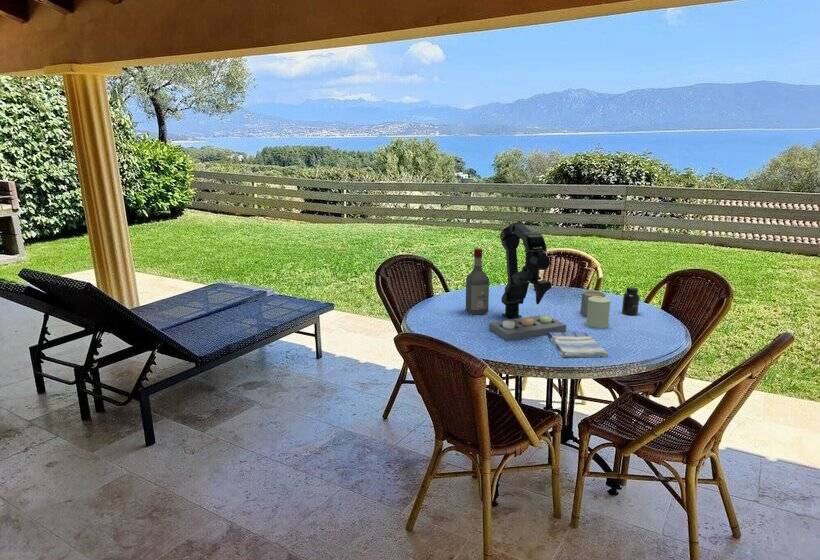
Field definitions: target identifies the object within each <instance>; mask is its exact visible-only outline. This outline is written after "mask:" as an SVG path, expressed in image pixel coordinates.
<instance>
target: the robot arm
mask: <svg viewBox="0 0 820 560" xmlns="http://www.w3.org/2000/svg"><path fill="white" fill-rule="evenodd" d="M499 238H500V241H501V242H500V243H501V245H502V247H503V249H504V250H505V257H506V258H505V259H506V261H505V262H506V271H507V272H506V274H507V284H506V285H505V287H504V293H503V294H502V296H501V299H500V300H501V303H502V304H503V305H504V306H505V307H504V308H505V309H504V311H505V312H504V313H501V314H502V316H503V317H505V318H507V319H508V320H511V319H518V318H522V315H520V314H519V313H520V312H519V311H520V307H519V306H520V305H523V304H524V300H525V299H526V297H527V294H528V290H529V286H530V284H531V285H533V291H534V292H535V303H536V305H540V303H541V301H542V299H543V297H544V296H545V295H546V293H547V291H549V290H552V285H553V284H552V282H551V281H549V280H545V279H543V280H542V276H540V271H545V270H547V269H548V268H549V267H550V265H551V259H550V258H549V256H547V251H548V250H547V249H548V247H547V244H546V242H545V239H544V236H543V234H542V233H540V232H535V231H531V230H530V229H528V228H527V227H526V226H525V225H524V224H523V223H521V222H512V223H509V225H508V226H507V227H505V228H503V229H502V231H500V235H499ZM521 240H522V245H523V247H524V252H525V256H524V257H525V260H524V266H522V268H521V271H519V269H518V268H519V267H518V266H519V265H518V252H517V251H518V250H517V249H518V247H519V245H520V242H521Z"/></svg>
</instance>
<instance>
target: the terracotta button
mask: <svg viewBox="0 0 820 560" xmlns="http://www.w3.org/2000/svg"><path fill="white" fill-rule="evenodd" d="M521 318H522V319H521V325H522V326H524V327H529V326H533V324H534V320H533V319H531V318H525V317H521Z"/></svg>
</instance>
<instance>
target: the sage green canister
mask: <svg viewBox="0 0 820 560" xmlns="http://www.w3.org/2000/svg"><path fill="white" fill-rule="evenodd" d="M611 301H612V300H611V298H609V297H606V296H605V297H601V296H592V297H589V298H588V311H587V317H586V322H585V324H586V326H588V327H590V328H593V329H594V328H595V329H606V328H608V327H609V325H610V324H609V319H610V309H611Z"/></svg>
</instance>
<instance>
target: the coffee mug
mask: <svg viewBox="0 0 820 560" xmlns="http://www.w3.org/2000/svg"><path fill="white" fill-rule="evenodd" d="M592 296H601V297H606V293H605V292H603V291H600V290H591V289H590V290H584V291H582V292H581V303H580V315H581V314H582V315H581V316H583V317H586V318H587V311H588V298H589V297H592Z"/></svg>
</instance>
